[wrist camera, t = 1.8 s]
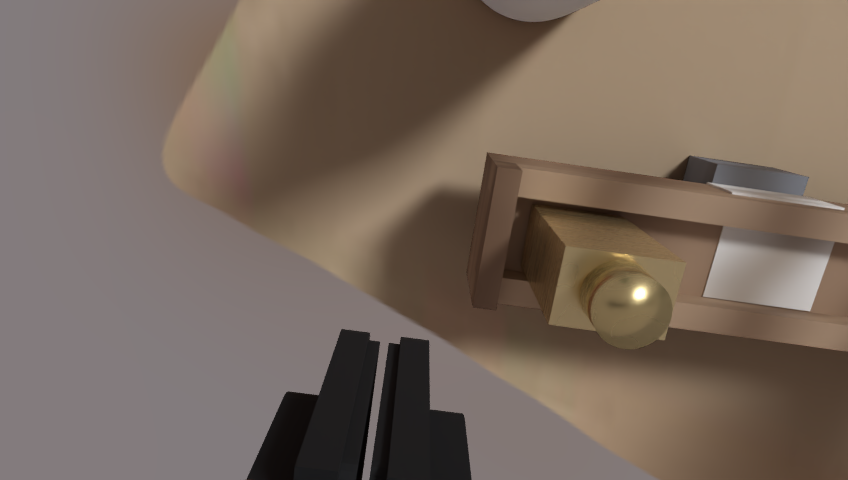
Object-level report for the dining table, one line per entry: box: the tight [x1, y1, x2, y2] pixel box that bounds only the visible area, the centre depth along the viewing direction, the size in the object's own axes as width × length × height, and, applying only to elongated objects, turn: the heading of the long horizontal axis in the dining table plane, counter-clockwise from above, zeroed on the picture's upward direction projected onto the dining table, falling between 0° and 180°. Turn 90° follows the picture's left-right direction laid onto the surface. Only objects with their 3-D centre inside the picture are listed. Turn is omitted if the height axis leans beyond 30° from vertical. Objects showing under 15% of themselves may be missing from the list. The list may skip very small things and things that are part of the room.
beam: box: [467, 153, 848, 352], centre depth 27 cm, size 26×8×8 cm, turn 82°
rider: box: [520, 204, 686, 349], centre depth 21 cm, size 4×3×8 cm
